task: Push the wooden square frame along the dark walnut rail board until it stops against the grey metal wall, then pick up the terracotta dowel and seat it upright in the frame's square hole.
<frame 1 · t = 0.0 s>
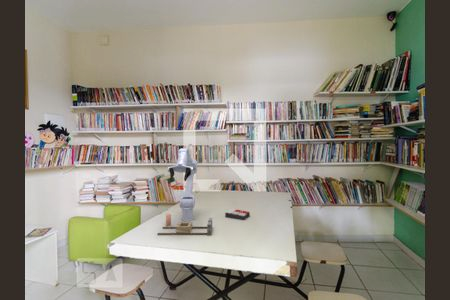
hand: (178, 180, 114), 32 cm above the table, tool tilted 50°, fingers open, 7 cm apart
rail board: (186, 233, 121), on the table
hard drive: (237, 217, 151), on the table
dowel: (168, 227, 131), on the table
wooden square frame: (184, 228, 121), point 3 cm above the table, slide at 0.0 cm
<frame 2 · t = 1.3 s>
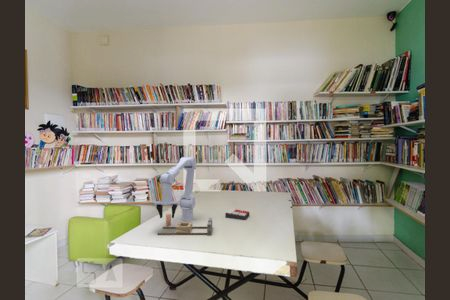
hand: (167, 217, 121), 9 cm above the table, tool pointing down, fingers open, 6 cm apart
nothing on the table moved.
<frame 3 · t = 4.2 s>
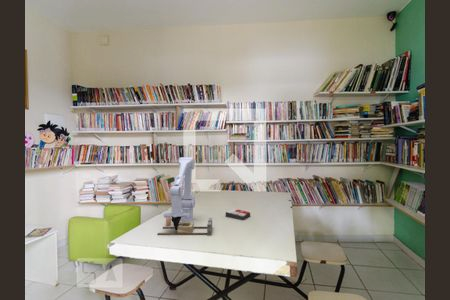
hand: (176, 229, 121), 2 cm above the table, tool pointing down, fingers closed
wooden square frame: (185, 228, 121), point 3 cm above the table, slide at 1.0 cm, touching gripper
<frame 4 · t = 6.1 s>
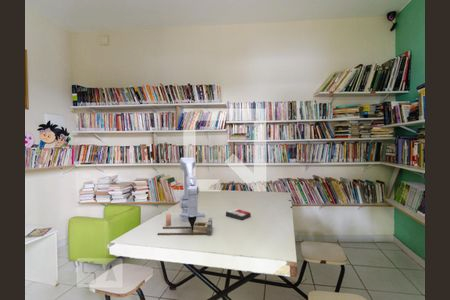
hand: (192, 229, 121), 2 cm above the table, tool pointing down, fingers closed
wooden square frame: (201, 227, 121), point 3 cm above the table, slide at 10.0 cm, touching gripper, rail board
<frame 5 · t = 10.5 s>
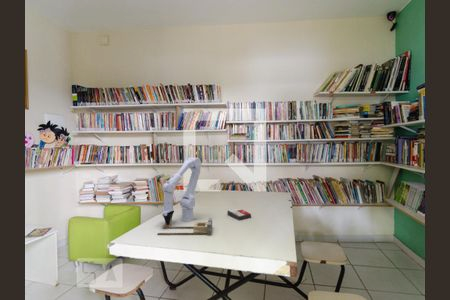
hand: (168, 223, 131), 2 cm above the table, tool pointing down, fingers closed on dowel, 3 cm apart
dowel: (168, 227, 131), on the table, touching gripper
wooden square frame: (201, 227, 121), point 3 cm above the table, slide at 10.0 cm, touching rail board
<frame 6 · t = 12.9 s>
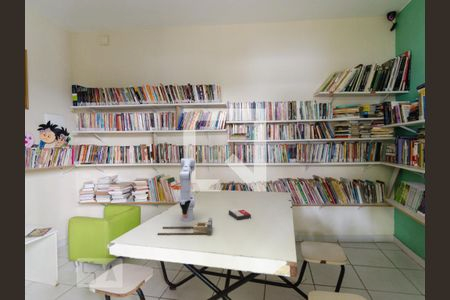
hand: (185, 213, 125), 10 cm above the table, tool pointing down, fingers closed on dowel, 3 cm apart
dowel: (185, 217, 125), point 8 cm above the table, touching gripper
when the fingers open (6 cm above the table, at t = 15.2 s): dowel drops 2 cm, resting on rail board.
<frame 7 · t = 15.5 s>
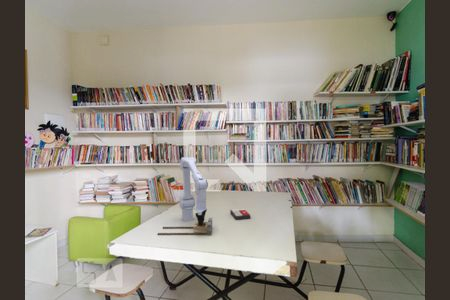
hand: (201, 223, 121), 6 cm above the table, tool pointing down, fingers open, 5 cm apart
dowel: (201, 231, 120), point 1 cm above the table, touching rail board
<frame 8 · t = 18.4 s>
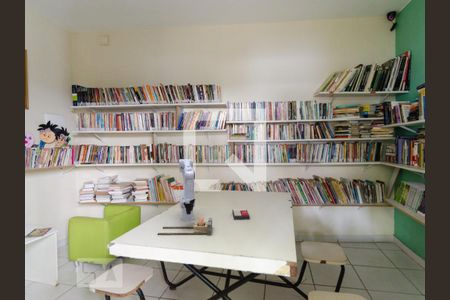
hand: (189, 212, 127), 10 cm above the table, tool pointing down, fingers open, 7 cm apart
at the end: wooden square frame slide at 10.0 cm; dowel 0.1 cm from the target spot, point 1.2 cm above the table; dowel tilted 0° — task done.
